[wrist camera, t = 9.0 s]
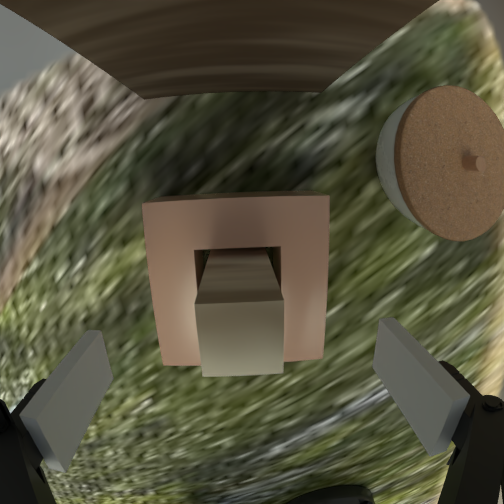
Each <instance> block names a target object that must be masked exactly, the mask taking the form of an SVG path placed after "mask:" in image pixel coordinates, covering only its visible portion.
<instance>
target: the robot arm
mask: <svg viewBox="0 0 504 504" xmlns="http://www.w3.org/2000/svg"><path fill="white" fill-rule="evenodd" d="M372 367H373V369H374V370H375V372H376V373H377V375H378V376H379V378H380V379H381V381H382V383H383V384H384V386H385V387H386V389H387V390H388V392H389V393H390V395H391V396H392V398H393V399H394V401H395V402H396V404H397V405H398V407H399V409H400V410H401V412H402V413H403V415H404V416H405V418H406V419H407V421H408V423H409V424H410V426H411V427H412V429H413V430H414V432H415V434H416V435H417V437H418V438H419V440H420V442H421V443H422V445H423V446H424V448H425V450H426V451H427V453H428V454H429V456H433V455H436V454H439V453H442V452H444V451H446V450H447V448H448V446H449V444H450V442H451V440H452V441H453V442H454V444H455V445H456V447H455V449H454V451H453V453H452V455H451V457H450V459H449V461H448V463H447V464H446V465H449V464H450V465H449V469H448V472H447V476H446V479H445V482H444V485H443V488H442V491H441V494H440V497H439V500H438V503H437V504H497V503H498V498H499V492H500V485H501V489H502V499H503V504H504V402H503V401H502V400H501V399H500V398H498V397H496V396H493V395H484V396H482V395H481V394H480V393H479V391H478V390H477V389H476V388H475V387H474V386H473V385H472V384H471V383H470V382H469V381H468V380H467V379H465V377H464V376H463V375H462V374H461V373H460V374H459V371H458V370H457V369H456V368H455V367H454V366H453V365H451V364H449V363H447V362H445V361H439V362H438V361H437V360H436V359H435V358H434V357H433V356H432V355H431V354H430V353H429V352H428V351H427V350H426V349H425V348H424V347H423V346H422V345H421V344H420V343H419V342H418V341H417V340H416V339H415V338H414V337H413V336H412V335H411V334H410V333H409V332H408V331H407V330H406V329H405V328H404V327H403V326H402V325H401V324H400V323H399V322H398V321H397V320H396V319H395V318H394V317H390V318H382V319H379V325H378V333H377V340H376V347H375V353H374V359H373V365H372ZM112 380H113V375H112V371H111V368H110V364H109V360H108V356H107V352H106V348H105V344H104V340H103V336H102V332H101V331H96V330H87V331H86V333H85V334H84V335H83V336H82V337H81V338H80V340H79V341H78V342H77V343H76V344H75V346H74V347H73V348H72V349H71V350H70V352H69V353H68V354H67V355H66V356H65V358H64V359H63V360H62V361H61V362H60V364H59V365H58V366H57V367H56V369H55V370H54V371H53V372H52V374H51V375H50V376H49V377H48V378H47V379H42V380H40V381H39V382H37V383H36V384H34V385H33V387H32V388H31V389H30V390H29V393H27V394H26V395H25V397H24V399H22V400H21V402H20V403H19V404H18V405H17V407H16V408H15V409H14V410H13V412H12V413H11V414H10V412H9V410H8V408H7V406H6V404H5V402H4V401H3V400H1V399H0V504H56V502H55V499H54V497H53V495H52V492H51V490H50V487H49V485H48V482H47V480H46V477H45V474H44V471H43V469H42V468H41V466H40V463H41V461H42V460H43V459H44V461H45V462H46V464H47V465H48V467H49V468H50V469H54V470H57V471H61V472H65V473H66V471H67V469H68V467H69V465H70V463H71V461H72V459H73V456H74V454H75V452H76V450H77V448H78V446H79V444H80V442H81V440H82V438H83V436H84V434H85V432H86V430H87V428H88V426H89V424H90V422H91V420H92V418H93V416H94V414H95V412H96V410H97V408H98V407H99V405H100V403H101V401H102V399H103V397H104V395H105V393H106V391H107V389H108V387H109V386H110V384H111V382H112ZM287 504H375V502H374V499H373V496H372V494H371V492H370V491H369V490H368V489H366V488H364V487H360V486H337V487H331V488H326V489H321V490H318V491H314V492H311V493H308V494H305V495H303V496H300V497H298V498H296V499H294V500H292V501H290V502H288V503H287Z"/></svg>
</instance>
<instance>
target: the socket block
mask: <svg viewBox="0 0 504 504" xmlns="http://www.w3.org/2000/svg"><path fill="white" fill-rule="evenodd" d="M142 212H143V224H144V235H145V245H146V254H147V263H148V271H149V279H150V287H151V294H152V301H153V308H154V314H155V321H156V327H157V333H158V339H159V344H160V350H161V355H162V361H163V365H169V366H201V359H200V351H199V343H198V334H197V326H196V316H195V307H194V303H195V300H196V296H197V293H198V290H199V286H200V283H201V280H202V276H203V273H204V261H203V249H225V248H249V247H273V271H274V274H275V276H276V279H277V282H278V285H279V287H280V290H281V293H282V296H283V298H284V362H290V361H302V360H312V359H322V358H323V350H324V337H325V323H326V307H327V288H328V263H329V218H330V196H329V195H326V194H322V193H319V192H316V191H312V190H307V191H259V192H232V193H210V194H192V195H176V196H161V197H157V198H154V199H152V200H149V201H147V202H144V203H142Z"/></svg>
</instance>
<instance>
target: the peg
mask: <svg viewBox="0 0 504 504" xmlns="http://www.w3.org/2000/svg"><path fill="white" fill-rule="evenodd" d="M194 307H195V316H196V326H197V334H198V343H199V351H200V359H201V367H202V374H203V377H216V376H246V375H264V374H279V373H283V363H284V298H283V296H282V293H281V290H280V287H279V285H278V282H277V279H276V276H275V274H274V271H273V268H272V265H271V263H270V260H269V257H268V254H267V252H266V249H265V247H249V248H225V249H211V250H210V253H209V257H208V260H207V263H206V266H205V270H204V273H203V276H202V280H201V283H200V286H199V290H198V293H197V296H196V300H195V303H194Z"/></svg>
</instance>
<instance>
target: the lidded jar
mask: <svg viewBox="0 0 504 504" xmlns="http://www.w3.org/2000/svg"><path fill="white" fill-rule="evenodd" d="M376 167H377V173H378V177H379V180H380V183H381V185H382V188H383V190H384V192H385V194H386V195H387V197H388V199H389V200H390V202H391V203H392V204H393V205H394V207H395V208H396V209H397V210H398V211H399V212H401V213H402V214H403V215H404V216H405V217H406V218H408V219H409V220H411V221H412V222H414V223H415V224H417V225H418V226H420V227H422V228H424V229H427V230H429V231H430V232H431V233H433V234H435V235H438V236H440V237H442V238H444V239H447V240H452V241H467V240H471V239H474V238H476V237H478V236H480V235H482V234H483V233H484V232H486V231H487V230H488V229H489V228H490V227H491V226H492V225H493V224H494V223H495V222H496V220H497V219H498V218H499V216H500V215H501V213H502V211H503V209H504V129H503V127H502V125H501V123H500V121H499V119H498V118H497V116H496V114H495V113H494V112H493V111H492V109H491V108H490V107H489V106H488V105H487V104H486V103H485V102H484V101H483V100H482V99H481V98H480V97H478V96H477V95H476V94H474V93H473V92H471V91H469V90H467V89H465V88H461V87H458V86H451V85H445V86H438V87H435V88H433V89H430V90H427V91H425V92H423V93H422V94H420V95H418V96H416V97H413V98H411V99H410V100H408V101H407V102H405V103H404V104H402V105H401V106H399V107H398V108H397V109H396V110H395V111H394V112H393V113H392V114H391V115H390V116H389V118H388V119H387V121H386V122H385V123H384V125H383V128H382V130H381V132H380V135H379V138H378V142H377V147H376Z"/></svg>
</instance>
